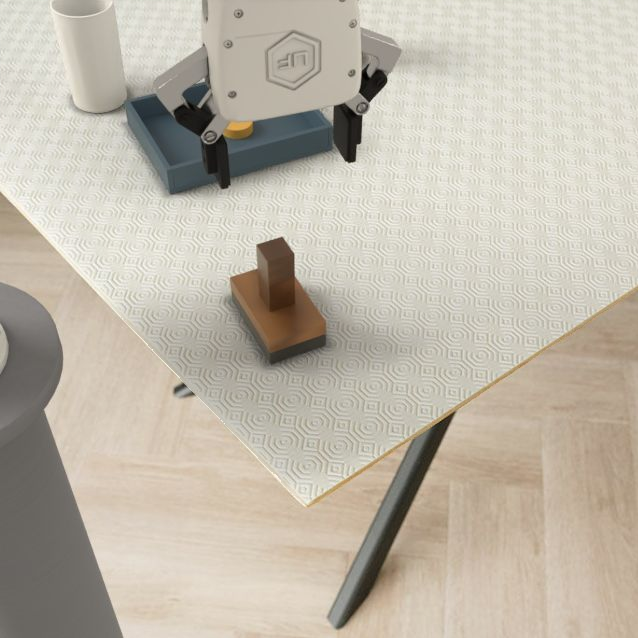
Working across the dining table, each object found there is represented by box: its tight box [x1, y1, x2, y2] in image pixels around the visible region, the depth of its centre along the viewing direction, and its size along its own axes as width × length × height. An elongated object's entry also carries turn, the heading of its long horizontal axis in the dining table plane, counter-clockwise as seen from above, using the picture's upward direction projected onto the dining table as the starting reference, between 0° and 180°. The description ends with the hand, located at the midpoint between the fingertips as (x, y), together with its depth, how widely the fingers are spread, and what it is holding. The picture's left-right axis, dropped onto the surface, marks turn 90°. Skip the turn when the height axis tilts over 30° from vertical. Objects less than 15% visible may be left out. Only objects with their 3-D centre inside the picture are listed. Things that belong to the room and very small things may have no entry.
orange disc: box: [222, 121, 253, 139], centre depth 103 cm, size 4×4×1 cm
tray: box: [123, 81, 334, 195], centre depth 102 cm, size 19×14×3 cm
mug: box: [49, 0, 128, 114], centre depth 104 cm, size 10×7×12 cm, turn 32°
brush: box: [229, 236, 327, 365], centre depth 81 cm, size 6×9×9 cm, turn 27°
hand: (283, 164), depth 68 cm, fingers open, 9 cm apart
